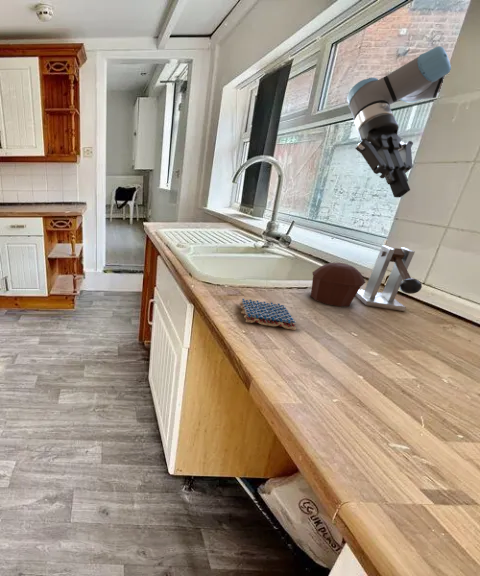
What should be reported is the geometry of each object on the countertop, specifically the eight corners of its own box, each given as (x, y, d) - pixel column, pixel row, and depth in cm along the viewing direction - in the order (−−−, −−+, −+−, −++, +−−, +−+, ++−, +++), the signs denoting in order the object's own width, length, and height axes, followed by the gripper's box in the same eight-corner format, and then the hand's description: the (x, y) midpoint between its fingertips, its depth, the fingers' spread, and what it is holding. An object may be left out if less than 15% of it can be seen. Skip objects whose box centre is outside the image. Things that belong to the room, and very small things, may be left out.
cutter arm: (418, 298, 70) (428, 286, 68) (398, 295, 71) (407, 284, 69) (398, 258, 80) (406, 247, 78) (381, 256, 81) (388, 245, 79)
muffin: (302, 289, 90) (313, 256, 86) (348, 296, 86) (361, 262, 82) (309, 303, 80) (321, 267, 76) (362, 312, 76) (377, 274, 72)
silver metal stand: (404, 311, 78) (429, 255, 72) (365, 305, 80) (387, 250, 75) (385, 297, 86) (407, 246, 81) (351, 292, 89) (370, 242, 84)
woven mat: (244, 323, 68) (246, 315, 67) (238, 304, 77) (239, 297, 77) (296, 331, 65) (299, 323, 65) (283, 311, 75) (286, 303, 74)
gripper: (361, 112, 81) (386, 181, 72) (413, 113, 80) (446, 183, 71) (341, 136, 88) (362, 202, 79) (389, 138, 87) (416, 204, 78)
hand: (402, 193), depth 75 cm, fingers closed
